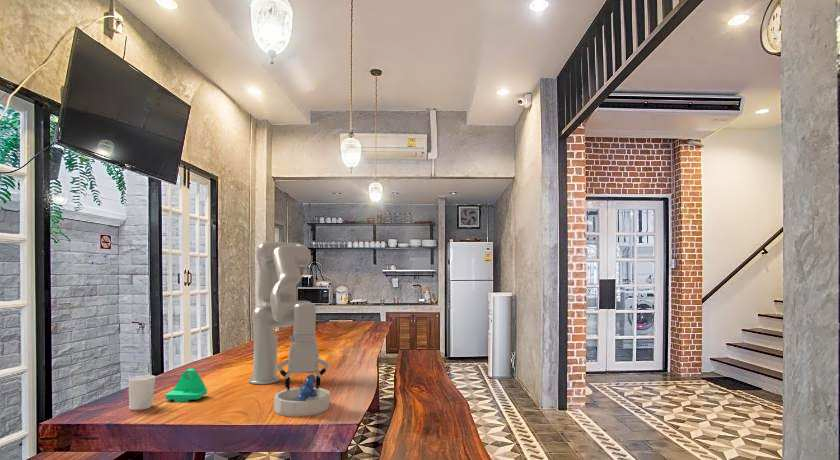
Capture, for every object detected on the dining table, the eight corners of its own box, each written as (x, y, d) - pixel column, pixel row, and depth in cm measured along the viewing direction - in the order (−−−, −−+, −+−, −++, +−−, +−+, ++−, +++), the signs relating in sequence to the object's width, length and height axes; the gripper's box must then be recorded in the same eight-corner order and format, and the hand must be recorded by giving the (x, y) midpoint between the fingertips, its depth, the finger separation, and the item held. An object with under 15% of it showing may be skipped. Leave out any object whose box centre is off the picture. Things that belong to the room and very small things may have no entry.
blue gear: (305, 419, 159) (317, 393, 155) (287, 411, 159) (298, 384, 155) (317, 396, 170) (328, 371, 166) (300, 388, 170) (311, 363, 166)
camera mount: (163, 402, 171) (165, 373, 171) (174, 396, 178) (175, 368, 179) (197, 402, 171) (199, 373, 172) (206, 396, 178) (207, 368, 179)
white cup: (134, 412, 158) (136, 381, 159) (122, 408, 163) (124, 378, 163) (158, 406, 165) (159, 376, 166) (146, 402, 169) (147, 374, 170)
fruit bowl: (276, 402, 171) (276, 388, 172) (328, 399, 175) (328, 386, 176) (272, 418, 153) (272, 403, 154) (330, 414, 157) (330, 400, 158)
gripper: (277, 341, 160) (276, 393, 159) (329, 339, 164) (328, 390, 163) (278, 337, 168) (277, 387, 166) (328, 336, 172) (327, 385, 170)
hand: (302, 388), depth 165 cm, fingers open, 9 cm apart
